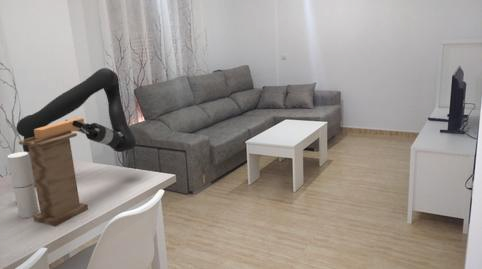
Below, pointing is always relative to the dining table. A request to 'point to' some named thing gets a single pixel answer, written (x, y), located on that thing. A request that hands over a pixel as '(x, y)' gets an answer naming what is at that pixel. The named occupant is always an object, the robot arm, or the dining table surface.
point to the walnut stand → (54, 178)
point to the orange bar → (56, 128)
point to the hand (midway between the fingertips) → (69, 122)
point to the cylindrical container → (23, 184)
